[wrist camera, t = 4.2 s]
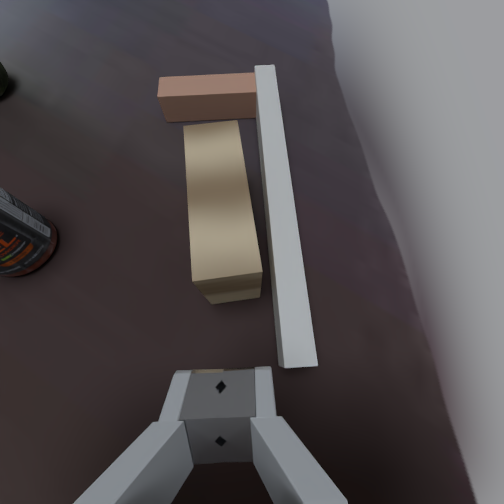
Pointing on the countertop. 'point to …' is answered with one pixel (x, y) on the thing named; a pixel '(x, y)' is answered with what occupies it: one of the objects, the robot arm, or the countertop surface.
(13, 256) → the supplement bottle
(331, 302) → the countertop surface
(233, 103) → the board
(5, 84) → the vegetable
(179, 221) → the countertop surface
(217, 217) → the long beige block
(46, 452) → the countertop surface
